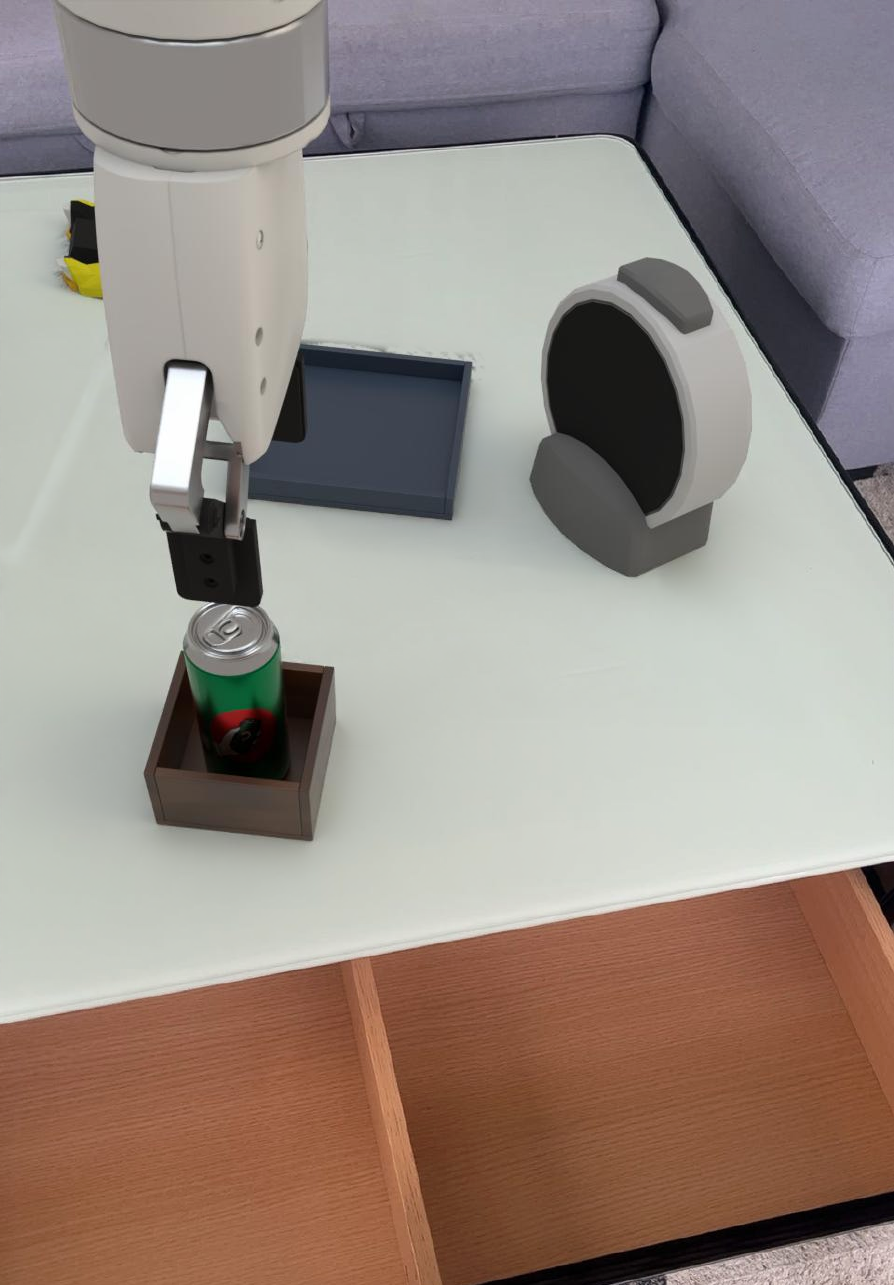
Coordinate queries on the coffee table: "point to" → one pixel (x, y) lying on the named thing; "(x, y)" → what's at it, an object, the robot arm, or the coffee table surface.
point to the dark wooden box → (237, 800)
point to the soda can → (238, 691)
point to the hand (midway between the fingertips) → (246, 512)
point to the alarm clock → (640, 416)
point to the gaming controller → (82, 250)
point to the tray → (372, 435)
